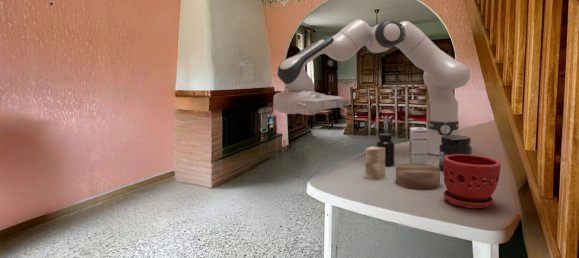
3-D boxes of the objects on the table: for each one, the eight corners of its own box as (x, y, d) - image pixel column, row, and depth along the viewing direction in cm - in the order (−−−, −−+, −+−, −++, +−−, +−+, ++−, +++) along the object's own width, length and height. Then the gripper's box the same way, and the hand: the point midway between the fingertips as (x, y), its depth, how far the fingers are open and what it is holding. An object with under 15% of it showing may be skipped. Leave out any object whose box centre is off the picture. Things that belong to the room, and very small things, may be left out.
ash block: (365, 177, 116) (365, 148, 114) (371, 174, 120) (371, 146, 118) (379, 179, 113) (379, 150, 111) (385, 176, 117) (385, 147, 115)
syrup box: (427, 167, 126) (428, 129, 124) (410, 167, 127) (411, 129, 125) (424, 164, 131) (425, 127, 129) (408, 163, 132) (409, 127, 130)
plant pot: (473, 215, 82) (476, 167, 80) (431, 199, 93) (432, 156, 92) (509, 206, 87) (512, 160, 85) (464, 191, 99) (466, 151, 97)
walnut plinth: (395, 177, 116) (395, 162, 115) (436, 179, 112) (437, 164, 111) (396, 188, 104) (396, 173, 103) (442, 191, 100) (443, 175, 99)
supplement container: (476, 170, 121) (478, 136, 119) (462, 175, 114) (464, 140, 113) (447, 164, 129) (448, 133, 127) (432, 170, 123) (433, 137, 121)
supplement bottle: (381, 161, 137) (382, 132, 135) (397, 164, 132) (398, 133, 131) (372, 164, 132) (372, 134, 131) (388, 167, 128) (389, 136, 126)
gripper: (293, 96, 119) (328, 96, 111) (323, 93, 136) (355, 93, 127) (294, 113, 120) (328, 115, 112) (323, 109, 136) (355, 110, 128)
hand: (342, 103), depth 120 cm, fingers open, 8 cm apart
